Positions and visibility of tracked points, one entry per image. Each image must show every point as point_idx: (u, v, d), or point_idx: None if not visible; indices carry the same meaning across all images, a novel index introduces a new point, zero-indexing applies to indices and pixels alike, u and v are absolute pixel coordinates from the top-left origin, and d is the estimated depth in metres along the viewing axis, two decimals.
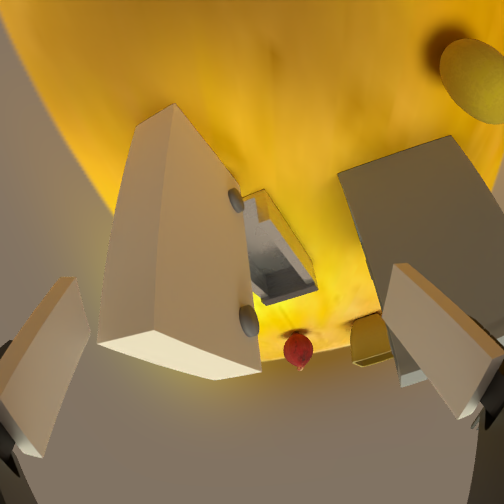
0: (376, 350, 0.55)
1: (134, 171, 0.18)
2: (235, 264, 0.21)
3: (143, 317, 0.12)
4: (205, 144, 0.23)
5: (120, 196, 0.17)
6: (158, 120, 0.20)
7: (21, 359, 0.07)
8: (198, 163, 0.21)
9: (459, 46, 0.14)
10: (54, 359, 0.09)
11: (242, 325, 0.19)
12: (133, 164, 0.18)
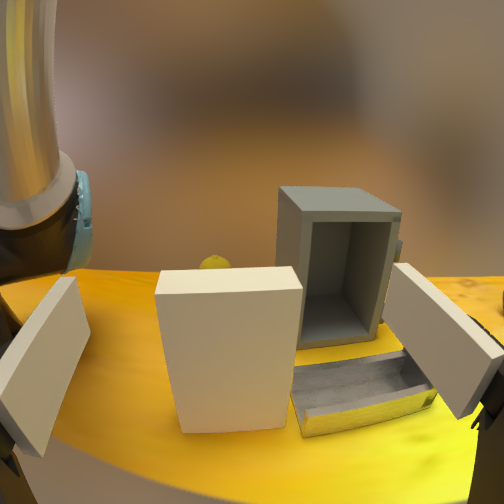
0: None
1: None
2: None
3: None
4: None
5: None
6: None
7: (21, 359, 0.07)
8: None
9: None
10: (54, 359, 0.09)
11: None
12: None
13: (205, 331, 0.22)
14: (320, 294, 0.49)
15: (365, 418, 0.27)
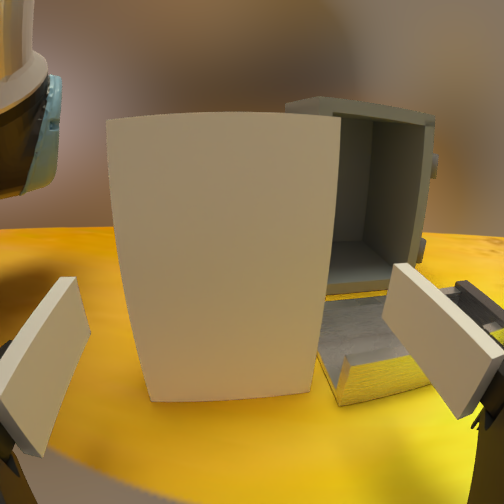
0: None
1: None
2: None
3: None
4: None
5: None
6: None
7: (21, 359, 0.07)
8: None
9: None
10: (54, 359, 0.09)
11: None
12: None
13: (183, 189, 0.13)
14: (337, 240, 0.40)
15: None
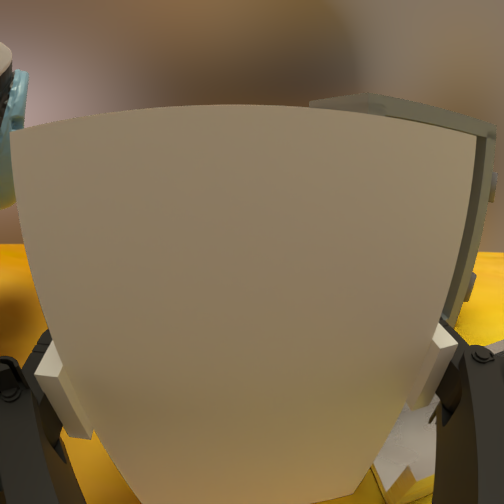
0: None
1: None
2: None
3: None
4: None
5: None
6: None
7: None
8: None
9: None
10: None
11: None
12: None
13: (173, 279, 0.06)
14: None
15: None
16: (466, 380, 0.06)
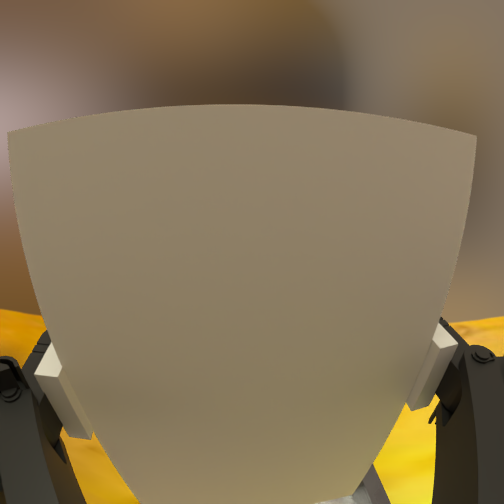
0: None
1: None
2: None
3: None
4: None
5: None
6: None
7: None
8: None
9: None
10: None
11: None
12: None
13: (171, 280, 0.06)
14: None
15: None
16: (466, 380, 0.06)
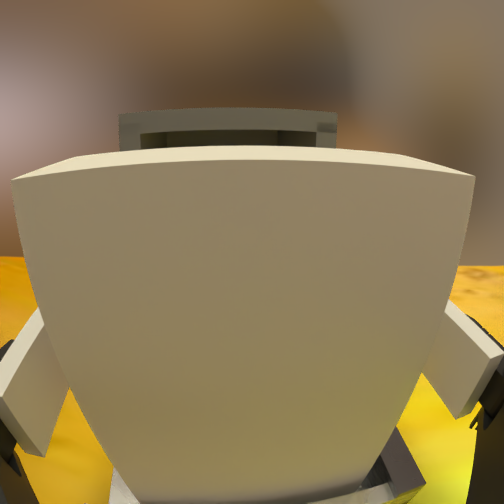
0: None
1: None
2: None
3: None
4: None
5: None
6: None
7: (23, 358, 0.07)
8: None
9: None
10: (56, 358, 0.09)
11: None
12: None
13: (177, 322, 0.06)
14: None
15: None
16: None
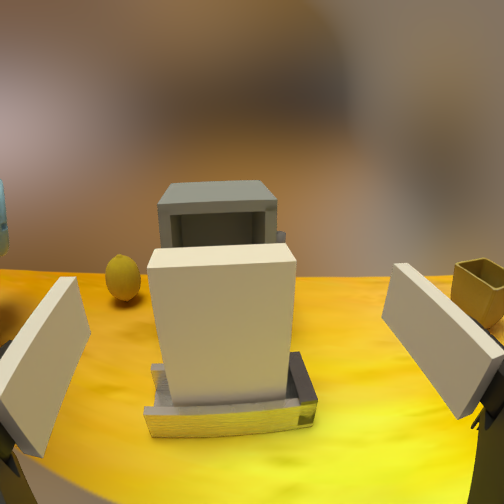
0: (468, 279, 0.37)
1: None
2: None
3: None
4: None
5: (164, 364, 0.24)
6: None
7: (21, 359, 0.07)
8: None
9: None
10: (54, 359, 0.09)
11: None
12: None
13: (198, 308, 0.22)
14: None
15: (217, 427, 0.25)
16: None
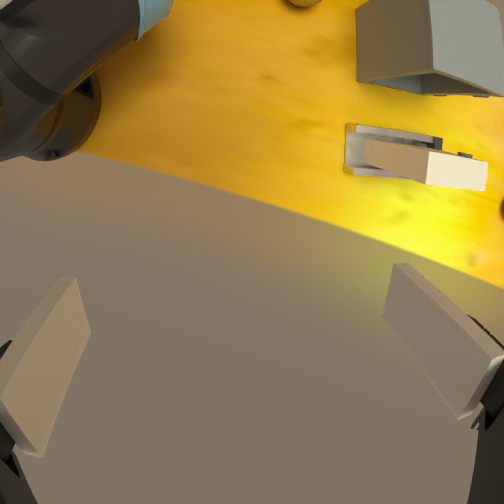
0: None
1: (380, 160, 0.38)
2: (442, 151, 0.35)
3: (424, 156, 0.28)
4: (388, 141, 0.42)
5: (385, 168, 0.37)
6: (365, 147, 0.41)
7: (21, 359, 0.07)
8: (393, 142, 0.39)
9: None
10: (54, 359, 0.09)
11: (463, 155, 0.31)
12: (377, 161, 0.39)
13: None
14: None
15: None
16: None
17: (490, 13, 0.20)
